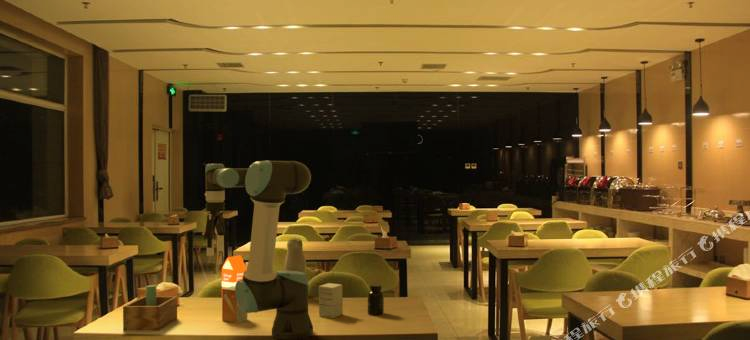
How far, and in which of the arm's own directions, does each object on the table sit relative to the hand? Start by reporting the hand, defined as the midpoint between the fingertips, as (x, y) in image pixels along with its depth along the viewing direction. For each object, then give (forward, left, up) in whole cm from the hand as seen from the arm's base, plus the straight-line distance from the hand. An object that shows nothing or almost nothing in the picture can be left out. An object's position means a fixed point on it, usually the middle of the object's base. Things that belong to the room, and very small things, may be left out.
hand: (215, 253), depth 237 cm
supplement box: (-26, -39, -27) cm, 54 cm away
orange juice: (+31, -23, -27) cm, 47 cm away
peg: (+9, +23, -26) cm, 36 cm away
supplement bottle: (-36, -55, -27) cm, 71 cm away
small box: (-7, -5, -27) cm, 28 cm away
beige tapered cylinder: (+15, -47, -27) cm, 56 cm away
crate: (+9, +23, -27) cm, 36 cm away
